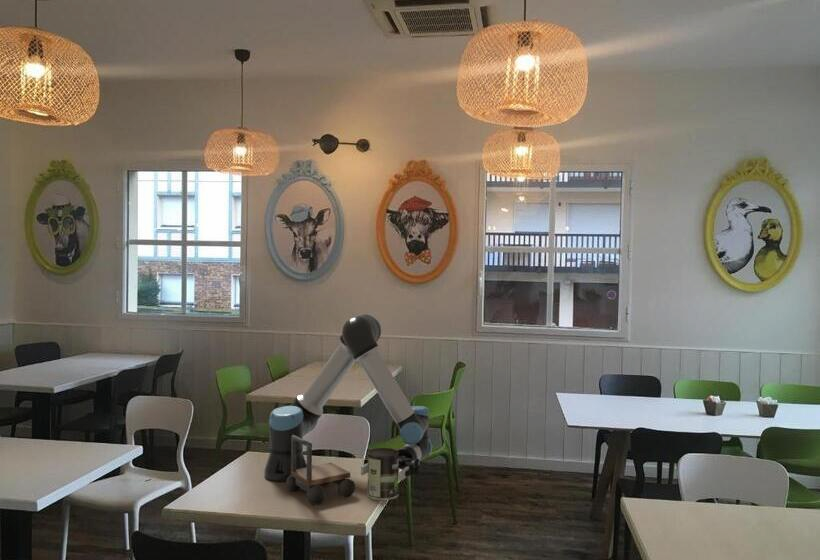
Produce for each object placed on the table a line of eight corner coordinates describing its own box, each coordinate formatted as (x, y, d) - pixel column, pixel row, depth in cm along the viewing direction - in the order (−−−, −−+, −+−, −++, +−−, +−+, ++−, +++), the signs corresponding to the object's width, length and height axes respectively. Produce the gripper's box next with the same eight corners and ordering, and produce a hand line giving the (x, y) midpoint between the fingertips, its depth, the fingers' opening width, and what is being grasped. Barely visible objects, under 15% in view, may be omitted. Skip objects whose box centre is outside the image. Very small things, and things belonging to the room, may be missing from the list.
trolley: (309, 506, 197) (309, 445, 197) (286, 491, 210) (286, 434, 210) (355, 495, 207) (355, 437, 207) (330, 481, 220) (330, 427, 220)
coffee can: (401, 491, 212) (402, 448, 211) (394, 501, 201) (395, 457, 201) (371, 488, 214) (372, 446, 213) (363, 499, 203) (363, 455, 203)
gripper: (440, 471, 220) (416, 491, 200) (375, 462, 230) (346, 480, 210) (440, 450, 220) (416, 467, 200) (375, 442, 230) (346, 457, 210)
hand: (380, 473), depth 205 cm, fingers open, 13 cm apart
